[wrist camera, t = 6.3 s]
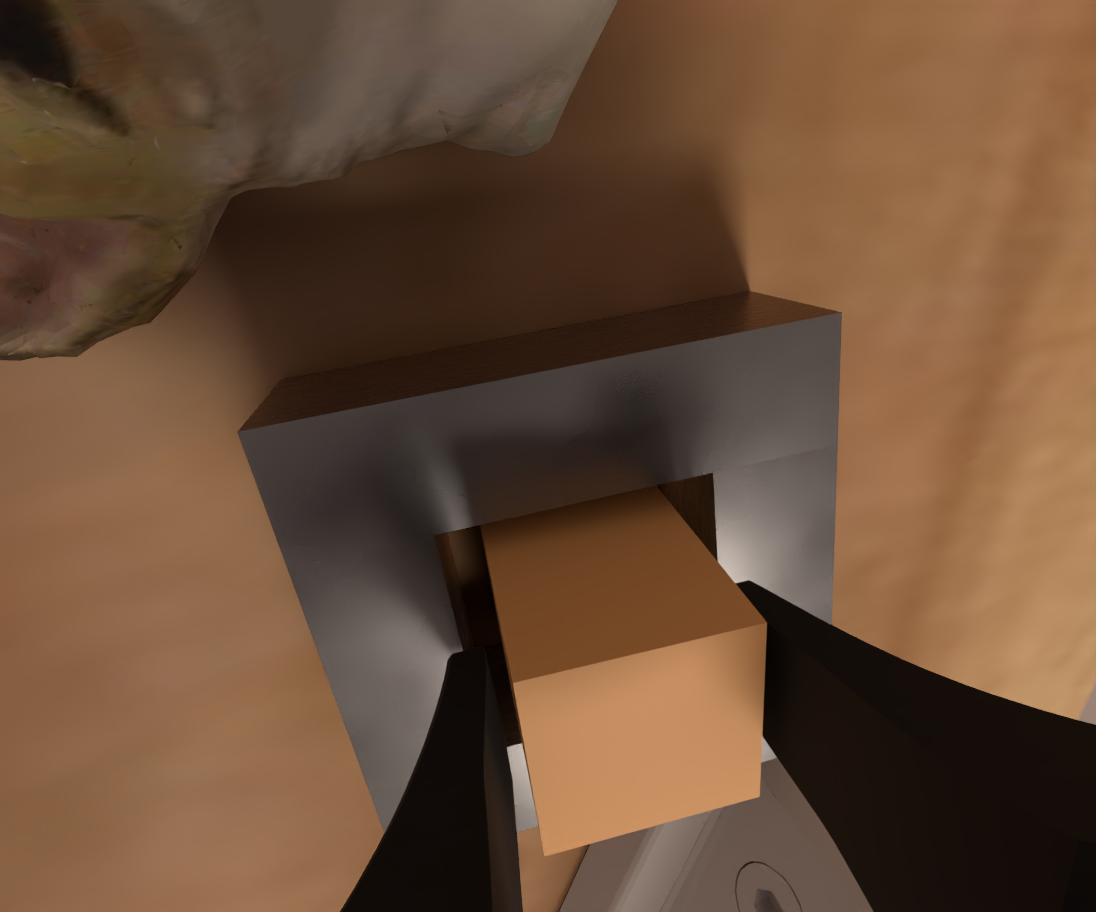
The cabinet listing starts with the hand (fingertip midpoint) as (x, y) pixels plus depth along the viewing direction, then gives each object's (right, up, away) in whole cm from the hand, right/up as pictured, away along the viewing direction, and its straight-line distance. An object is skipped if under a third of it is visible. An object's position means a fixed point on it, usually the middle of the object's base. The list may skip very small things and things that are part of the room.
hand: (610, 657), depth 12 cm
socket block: (-1, +2, +4) cm, 5 cm away
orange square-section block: (-1, +2, +4) cm, 5 cm away
